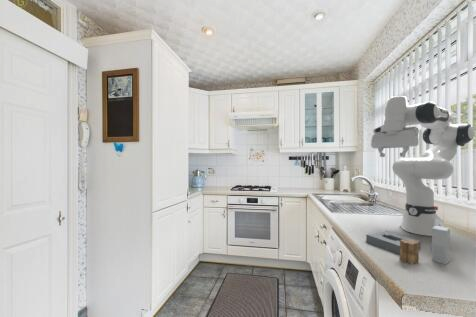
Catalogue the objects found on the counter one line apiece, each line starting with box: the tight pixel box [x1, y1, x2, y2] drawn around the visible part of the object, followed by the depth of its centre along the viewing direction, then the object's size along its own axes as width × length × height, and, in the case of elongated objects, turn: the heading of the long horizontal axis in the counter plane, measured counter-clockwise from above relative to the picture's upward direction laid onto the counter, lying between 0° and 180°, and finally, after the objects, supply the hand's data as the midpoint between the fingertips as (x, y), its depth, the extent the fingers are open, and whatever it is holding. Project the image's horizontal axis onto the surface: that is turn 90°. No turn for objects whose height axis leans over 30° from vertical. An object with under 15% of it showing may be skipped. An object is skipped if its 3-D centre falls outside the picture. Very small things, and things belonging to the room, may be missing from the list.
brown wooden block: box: [399, 239, 420, 265], centre depth 80 cm, size 6×4×7 cm, turn 113°
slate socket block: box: [365, 230, 421, 255], centre depth 95 cm, size 14×14×3 cm
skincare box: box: [431, 226, 451, 265], centre depth 81 cm, size 6×4×12 cm
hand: (391, 156), depth 106 cm, fingers open, 8 cm apart
